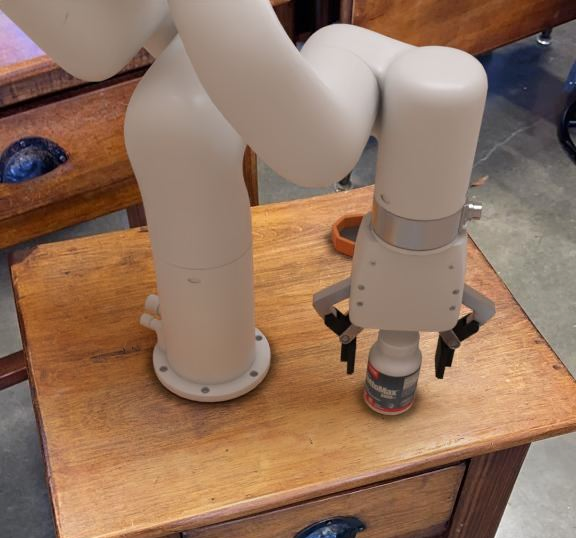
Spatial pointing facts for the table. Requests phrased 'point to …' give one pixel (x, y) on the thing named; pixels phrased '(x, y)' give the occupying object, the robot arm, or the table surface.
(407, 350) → the pill bottle
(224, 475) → the table surface
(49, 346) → the table surface
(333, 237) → the bowl
